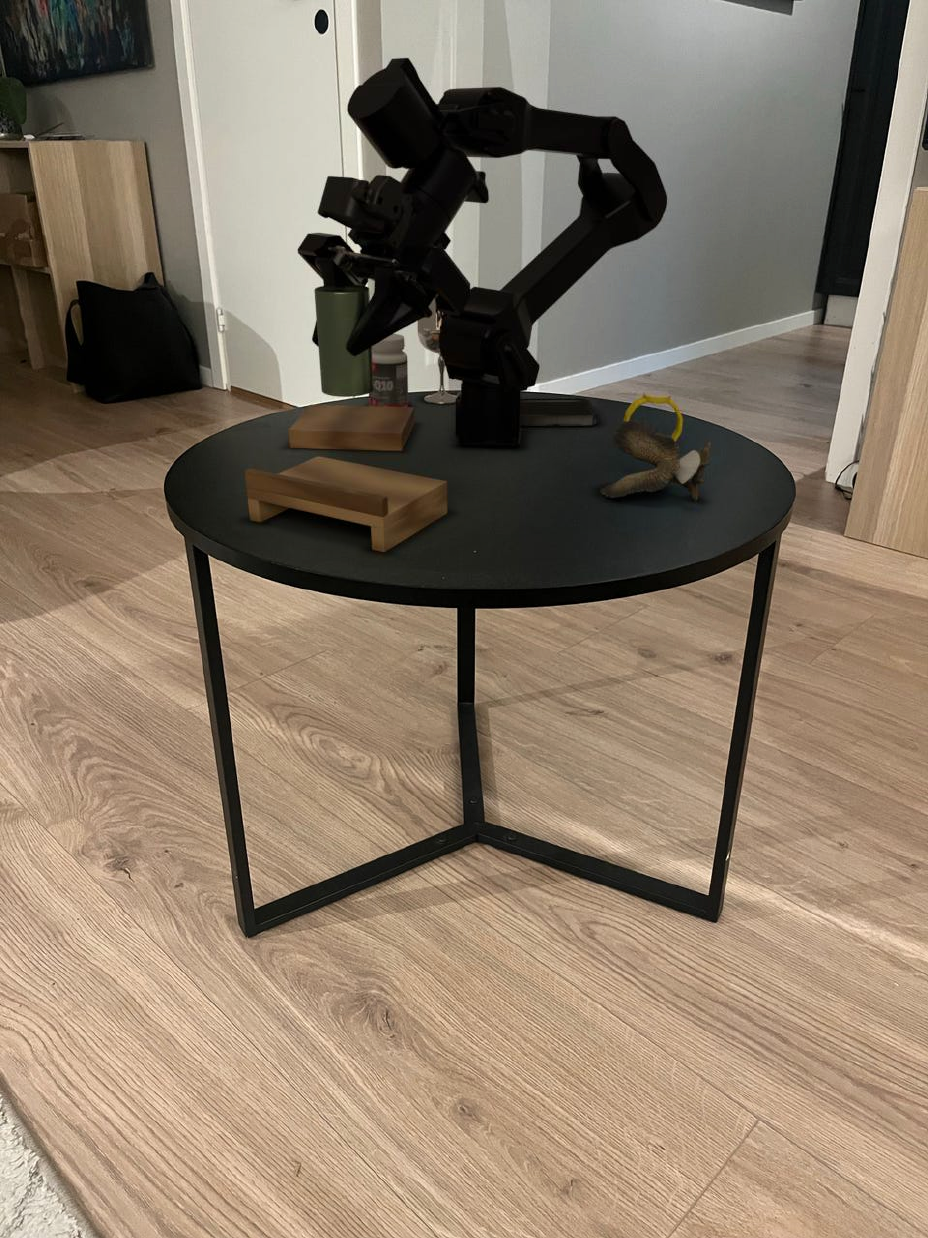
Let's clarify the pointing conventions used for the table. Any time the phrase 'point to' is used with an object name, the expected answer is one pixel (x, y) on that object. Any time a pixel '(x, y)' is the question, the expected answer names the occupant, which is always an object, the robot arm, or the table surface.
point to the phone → (557, 412)
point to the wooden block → (352, 428)
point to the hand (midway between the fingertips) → (332, 348)
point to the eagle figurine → (656, 461)
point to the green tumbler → (342, 340)
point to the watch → (657, 398)
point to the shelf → (350, 497)
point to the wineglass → (434, 350)
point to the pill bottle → (389, 373)
